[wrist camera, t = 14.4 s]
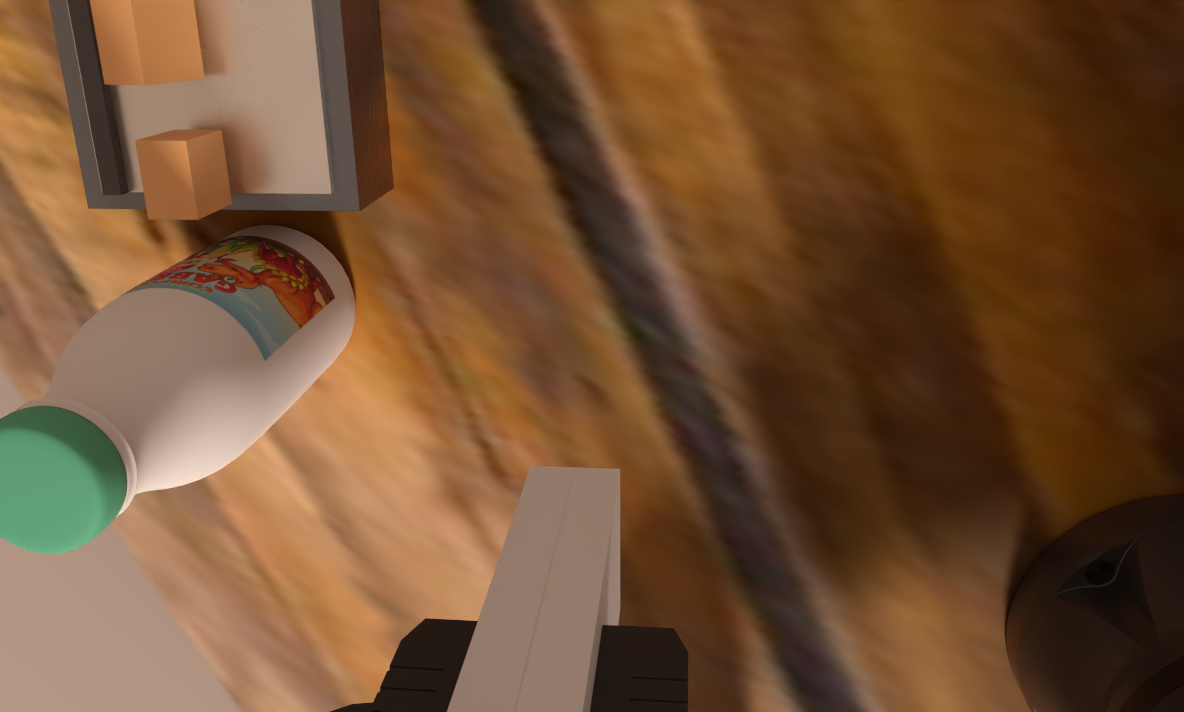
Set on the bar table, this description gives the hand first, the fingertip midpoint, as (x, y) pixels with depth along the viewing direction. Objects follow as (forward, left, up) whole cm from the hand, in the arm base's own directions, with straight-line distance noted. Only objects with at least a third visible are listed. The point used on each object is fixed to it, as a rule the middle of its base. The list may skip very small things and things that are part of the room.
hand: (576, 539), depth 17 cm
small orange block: (+18, -7, -25) cm, 32 cm away
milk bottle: (+18, +5, -31) cm, 36 cm away
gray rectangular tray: (+18, -7, -30) cm, 36 cm away
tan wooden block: (+18, -2, -25) cm, 31 cm away
